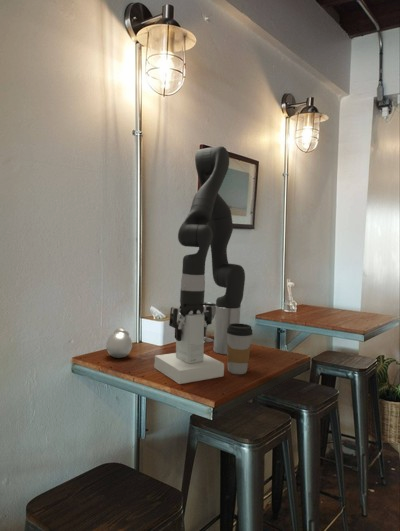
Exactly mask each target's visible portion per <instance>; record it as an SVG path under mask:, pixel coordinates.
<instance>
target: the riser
mask: <svg viewBox="0 0 400 531" xmlns="http://www.w3.org/2000/svg"><path fill="white" fill-rule="evenodd" d="M154 369H156V370H157V371H159V372H160V373H162V374H163V375H164V376H166V377H168V378H169V379H171V380H172V381H174V382H176V383H177V384H179V385H182V384H187V383H193V382H199V381H204V380H205V381H206V380H210V379H216V378H221V377H224V375H225V374H224V373H225V363H223V362H222V361H220V360H218V359H216V358H214V357H211V356H209V355H207V354H206V353H204V360H203V362H197V363H190V364H189V363H187V362H185V361H183V360H181V359H179V358H176V352H172V353H163V354H156V355H154Z"/></svg>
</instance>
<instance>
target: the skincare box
mask: <svg viewBox="0 0 400 531" xmlns="http://www.w3.org/2000/svg"><path fill="white" fill-rule="evenodd" d="M180 315H181V313H180V312H179V314H178V315H177V319H178V317H179V316H180ZM185 316H186V323H185V324H184V325H183V326H182V328H181V329H182V335H181V341H177V340H176V339H175V353H176V358H179V359H181V360H183V361H185V362H187V363H189V364H190V363H197V362H203V360H204V354H205V353H204V352H205V351H204V350H205V344H204V343H205V342H204V315H202V314H192V315H185ZM181 319H184V316H182V315H181Z"/></svg>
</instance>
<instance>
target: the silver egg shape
mask: <svg viewBox="0 0 400 531" xmlns="http://www.w3.org/2000/svg"><path fill="white" fill-rule="evenodd" d="M105 344H106V345H105V348H106V351H107V352H108V354H109V355H110V356H111V357H113V358H115V359H121V358H125V357H127V356H128V355H129V354H130V352H131V350H132V349H133V342H132V338H131V337H130V333H129V331H127V330H126V329H125V328H123V327H119V328H116V329H115V330H114V331H113V332H112V334H110V335H109V337H108V338H107V340H106V343H105Z"/></svg>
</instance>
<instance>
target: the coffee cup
mask: <svg viewBox="0 0 400 531" xmlns="http://www.w3.org/2000/svg"><path fill="white" fill-rule="evenodd" d="M252 336H253V329H252V325H250V324H247V323H246V324H245V323H234V324H229V327H228V328H227V354H226V359H227V360H226V362H227V370H228V372H229V373H230V374H234V375H245V374H246V373H247V371H248V367H249V362H250V352H251V345H252V344H251V343H252Z"/></svg>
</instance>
